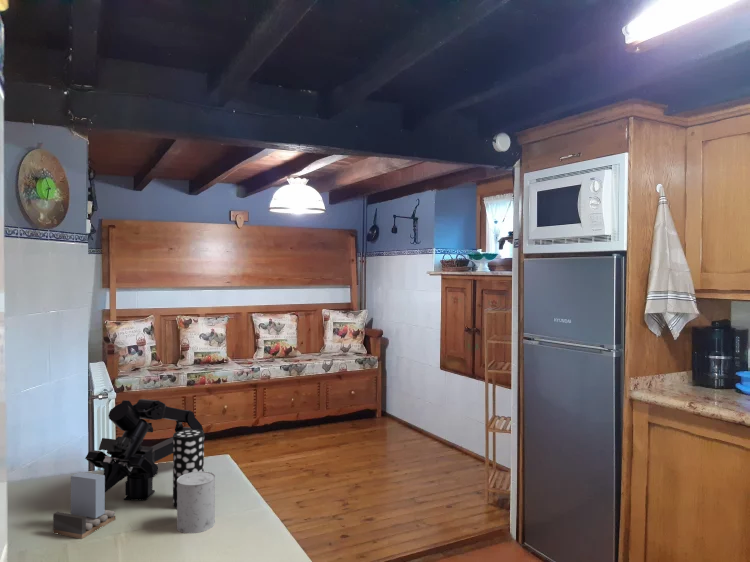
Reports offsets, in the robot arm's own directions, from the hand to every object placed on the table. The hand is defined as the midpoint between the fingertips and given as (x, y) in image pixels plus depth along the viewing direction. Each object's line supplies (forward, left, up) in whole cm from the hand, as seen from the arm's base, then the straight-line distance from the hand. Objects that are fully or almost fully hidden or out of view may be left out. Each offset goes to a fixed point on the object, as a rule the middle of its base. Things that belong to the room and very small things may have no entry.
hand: (102, 492), depth 145 cm
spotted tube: (-20, -10, -7) cm, 23 cm away
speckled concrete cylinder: (-27, +3, -7) cm, 28 cm away
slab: (+1, +5, -4) cm, 6 cm away
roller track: (+2, +6, -7) cm, 9 cm away
